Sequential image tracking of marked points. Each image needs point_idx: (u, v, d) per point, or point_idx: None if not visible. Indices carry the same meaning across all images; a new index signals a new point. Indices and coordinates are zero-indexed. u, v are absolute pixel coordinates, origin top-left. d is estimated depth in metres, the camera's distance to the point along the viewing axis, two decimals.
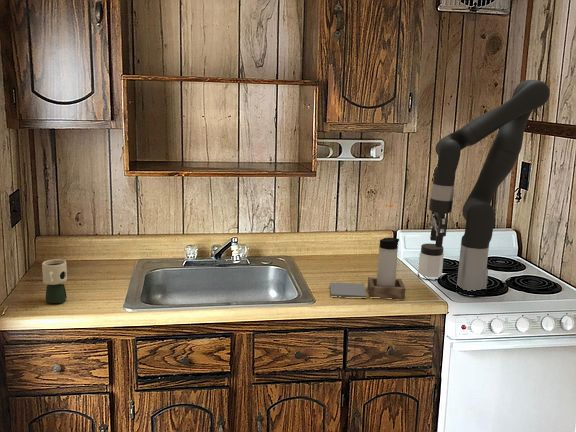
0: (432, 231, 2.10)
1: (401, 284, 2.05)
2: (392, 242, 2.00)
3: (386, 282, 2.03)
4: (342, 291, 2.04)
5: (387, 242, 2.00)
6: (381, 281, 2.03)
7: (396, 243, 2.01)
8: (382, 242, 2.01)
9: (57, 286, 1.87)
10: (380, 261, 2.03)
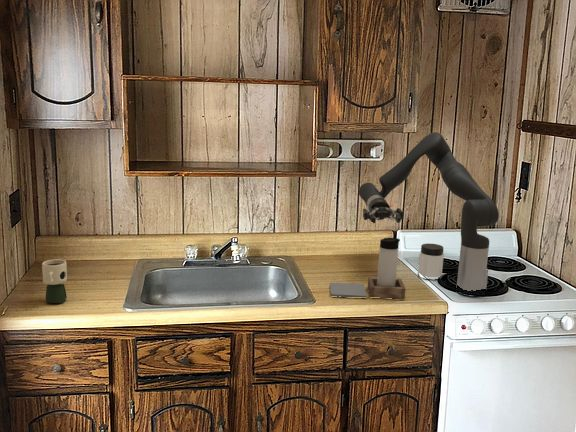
0: None
1: (401, 284, 2.05)
2: (393, 242, 2.00)
3: (386, 282, 2.03)
4: (342, 291, 2.04)
5: (388, 242, 2.00)
6: (381, 281, 2.03)
7: (397, 243, 2.01)
8: (383, 242, 2.01)
9: (57, 286, 1.87)
10: (380, 261, 2.03)
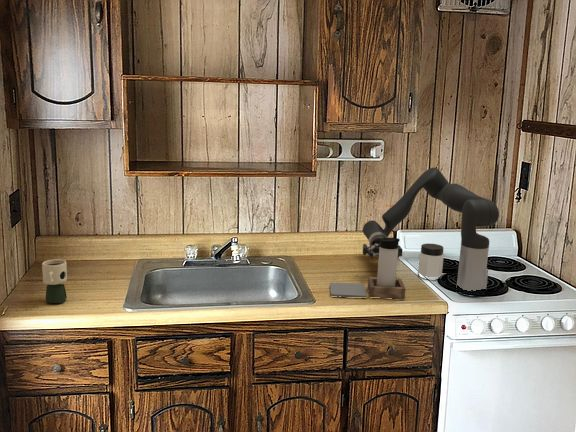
0: None
1: (401, 284, 2.05)
2: (393, 242, 2.00)
3: (386, 282, 2.03)
4: (342, 291, 2.04)
5: (388, 242, 2.00)
6: (381, 281, 2.03)
7: (396, 243, 2.01)
8: (382, 242, 2.01)
9: (57, 286, 1.87)
10: (380, 261, 2.03)
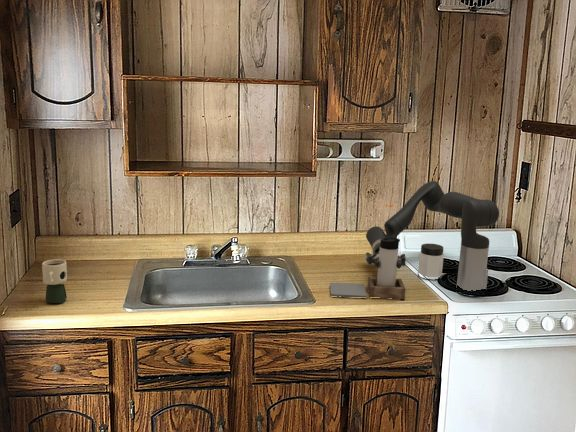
0: None
1: (401, 284, 2.05)
2: (393, 242, 1.99)
3: (386, 282, 2.03)
4: (342, 291, 2.04)
5: (388, 242, 1.99)
6: (381, 281, 2.03)
7: (397, 243, 2.01)
8: (383, 242, 2.01)
9: (57, 286, 1.87)
10: (381, 261, 2.02)
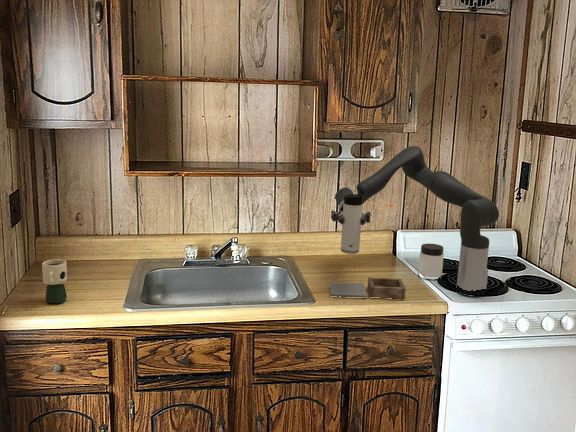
0: (342, 216, 2.02)
1: (401, 284, 2.05)
2: (356, 198, 1.97)
3: (350, 239, 2.00)
4: (342, 291, 2.04)
5: (351, 198, 1.97)
6: (345, 238, 2.00)
7: (360, 199, 1.98)
8: (346, 198, 1.98)
9: (57, 286, 1.87)
10: (344, 217, 2.00)
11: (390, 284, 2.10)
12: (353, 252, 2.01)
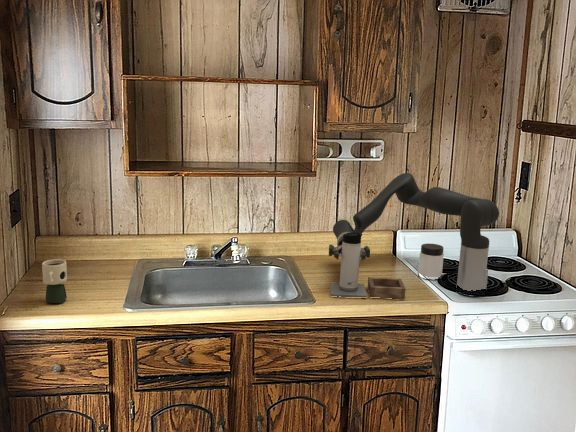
0: None
1: (401, 284, 2.05)
2: (355, 236, 2.00)
3: (349, 276, 2.03)
4: (342, 291, 2.04)
5: (350, 236, 2.00)
6: (344, 275, 2.04)
7: (359, 238, 2.01)
8: (345, 236, 2.01)
9: (57, 286, 1.87)
10: (343, 255, 2.03)
11: (390, 284, 2.10)
12: (351, 290, 2.04)
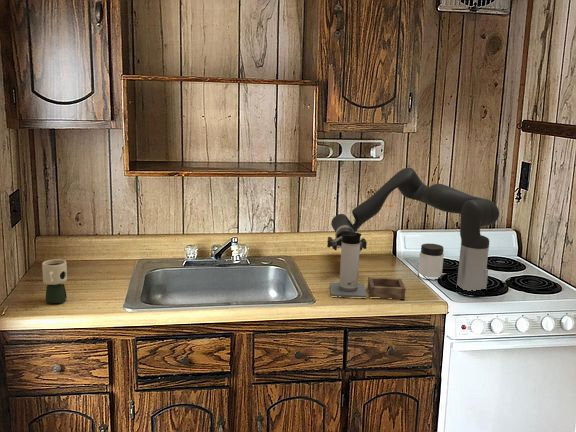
0: None
1: (401, 284, 2.05)
2: (354, 237, 2.00)
3: (348, 277, 2.03)
4: (342, 291, 2.04)
5: (349, 237, 2.00)
6: (344, 275, 2.03)
7: (358, 238, 2.01)
8: (344, 237, 2.01)
9: (57, 286, 1.87)
10: (342, 256, 2.03)
11: (390, 284, 2.10)
12: (351, 290, 2.04)
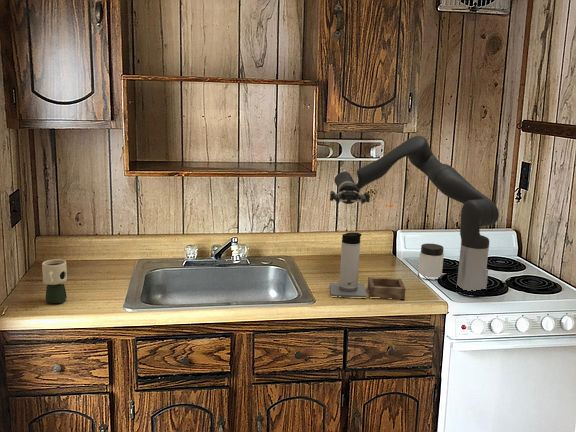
0: (339, 196, 2.14)
1: (401, 284, 2.05)
2: (354, 237, 2.00)
3: (348, 277, 2.03)
4: (342, 291, 2.04)
5: (349, 237, 2.00)
6: (344, 275, 2.03)
7: (358, 238, 2.01)
8: (344, 237, 2.01)
9: (57, 286, 1.87)
10: (343, 256, 2.03)
11: (390, 284, 2.10)
12: (351, 290, 2.04)
